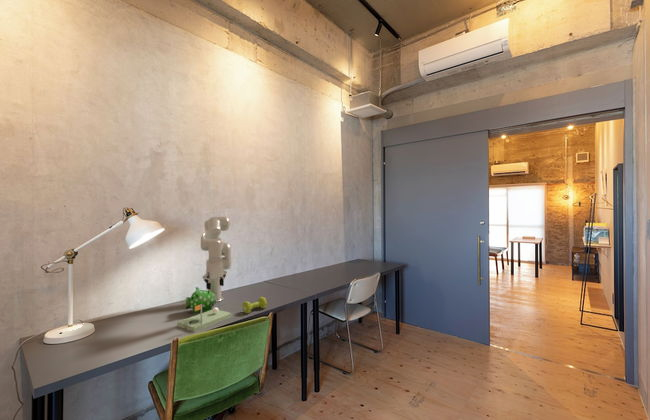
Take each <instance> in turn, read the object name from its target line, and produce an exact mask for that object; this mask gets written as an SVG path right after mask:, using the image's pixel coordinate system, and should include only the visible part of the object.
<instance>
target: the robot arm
mask: <svg viewBox="0 0 650 420" xmlns="http://www.w3.org/2000/svg"><path fill="white" fill-rule="evenodd" d="M230 224H231V223H230V219H229V218H228V217H227V216H212V217H210V218H209V219H208V220H205V221H204V226H203V227H204V230H205V231H204V232H203V233H202V235H201V236H200V248H201V249H200V250H202V251H205V252H207V251H208V258H207V260H206V262H205V263H206V264H205V265H206V270H205V274H204V275H202V280H203V281H204V282H205V284H206V285H205V288H206V290H207V291H211V292H213V293H214V295H215V298H216V301H215V303H220V302H222V301H224V297H223V296H222V287H224V282H225V281H224V280H225V279H226V276H227V270H230V269H231V268H232V250H231V249H232V248H231V244H229V243H228V242H225V240H223V239H222V238H221V234H222V231H223V232H226V231H229V228H230Z"/></svg>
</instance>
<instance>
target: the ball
mask: <svg viewBox="0 0 650 420" xmlns="http://www.w3.org/2000/svg"><path fill="white" fill-rule="evenodd" d="M211 310H212V313H213V314H217V313H218V311H219V310H220V309H219V308H218V307H217V306H216V307H214V306H213V307H212V308H211Z"/></svg>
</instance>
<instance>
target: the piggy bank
mask: <svg viewBox="0 0 650 420" xmlns="http://www.w3.org/2000/svg"><path fill="white" fill-rule="evenodd" d="M215 301H216V298H215V295H214V293H213V292H211V291H208V290H207V289H206V290H204V289H203V290H202V289H200V288H199V287H198V286H196V287H195V291H194V292H192V294H191V296H190V297H188V296H186V297H185V310H188V309H192V310H193V313H194V314H196V315H198V314H200V313H201V309H200V310H197V311H195V306H198V305H201V304H202V311H203V313H204V312H207V311H210V310H212V309H213V308H214V306H215V303H216V302H215Z"/></svg>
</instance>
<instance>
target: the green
mask: <svg viewBox="0 0 650 420" xmlns="http://www.w3.org/2000/svg"><path fill="white" fill-rule="evenodd" d="M200 309H201V310H200ZM197 310H200V313H198V314H196V315H193V316H190V317H187V318H185V319H181V320H179V321H177V324H176V325H177V327H178V328H182V329H184V330H186V331H187V330H188V331H190V332H193V333H195V332H199V331H201V330H203V329H206V328H208V327H211V326H213V325H217V324H218V323H221V322H223V321H226V320H229V319H231V318H233V316H232V314H233V313H231V312H229V311H226V310H225V311H224V310H221V309H219V311H218V313H217V314H213V313H212V309H211V310H210V311H207V312H204V311H203V310H202V304H201V305H198V306H195V311H197Z"/></svg>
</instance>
